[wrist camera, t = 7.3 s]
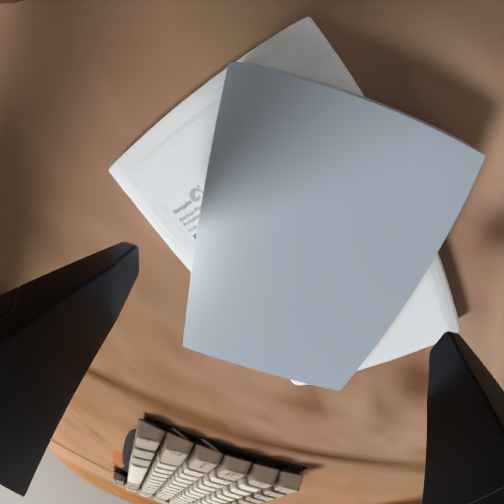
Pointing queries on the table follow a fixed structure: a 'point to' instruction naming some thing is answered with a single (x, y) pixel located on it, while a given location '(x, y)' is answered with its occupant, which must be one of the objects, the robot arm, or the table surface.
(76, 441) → the table surface
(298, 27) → the external hard drive
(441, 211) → the lid
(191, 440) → the mechanical keyboard
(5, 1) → the box
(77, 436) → the table surface
